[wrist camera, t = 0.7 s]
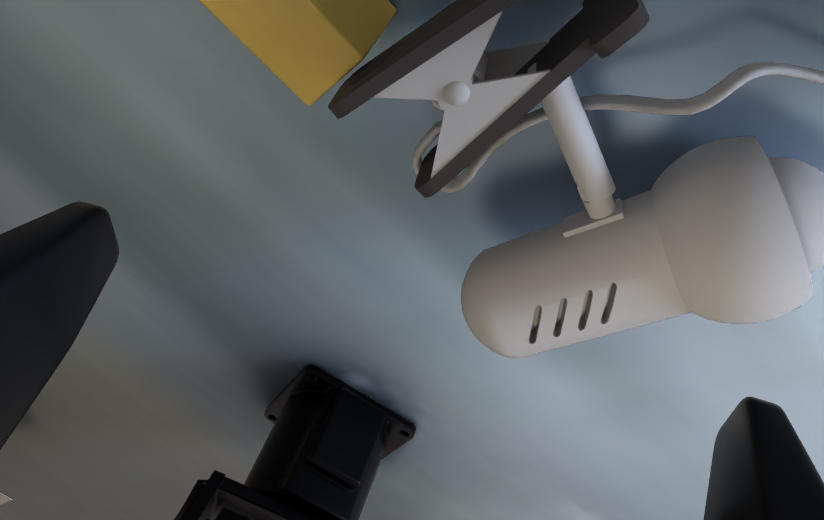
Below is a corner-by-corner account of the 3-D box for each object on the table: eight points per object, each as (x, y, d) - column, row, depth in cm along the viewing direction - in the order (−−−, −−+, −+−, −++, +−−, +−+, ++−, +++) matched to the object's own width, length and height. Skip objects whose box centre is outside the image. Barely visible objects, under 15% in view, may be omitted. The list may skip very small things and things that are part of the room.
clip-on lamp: (1084, -353, 15) (335, 28, 21) (1387, -427, 9) (267, 110, 16) (1107, 142, 20) (497, 326, 26) (1311, 273, 14) (486, 462, 21)
